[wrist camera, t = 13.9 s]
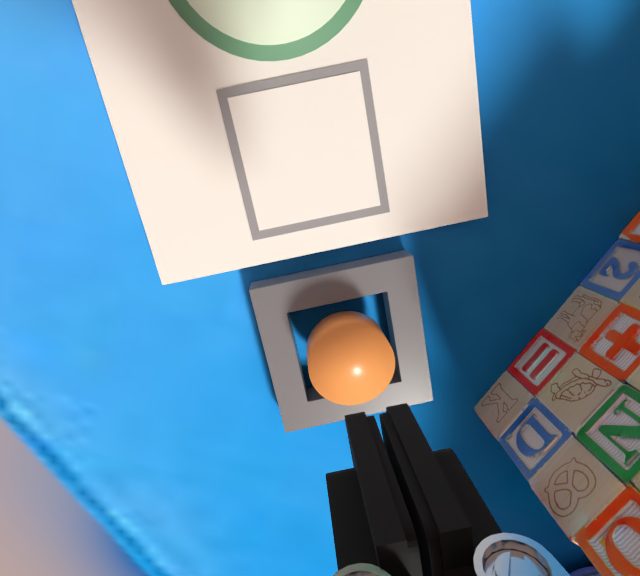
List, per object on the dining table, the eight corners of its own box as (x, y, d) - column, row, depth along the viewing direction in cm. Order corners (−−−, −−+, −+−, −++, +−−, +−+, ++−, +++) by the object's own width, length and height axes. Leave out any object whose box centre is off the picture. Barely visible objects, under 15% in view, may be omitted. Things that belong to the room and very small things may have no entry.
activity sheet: (431, -317, 16) (442, -353, 15) (479, 214, 21) (489, 216, 20) (6, -236, 15) (-15, -267, 14) (168, 280, 21) (161, 285, 20)
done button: (378, 303, 20) (388, 317, 19) (391, 375, 22) (400, 395, 20) (299, 320, 20) (299, 335, 18) (315, 391, 22) (317, 413, 20)
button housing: (404, 249, 21) (413, 255, 20) (424, 386, 24) (433, 400, 22) (251, 282, 21) (248, 290, 20) (285, 416, 23) (285, 432, 22)
